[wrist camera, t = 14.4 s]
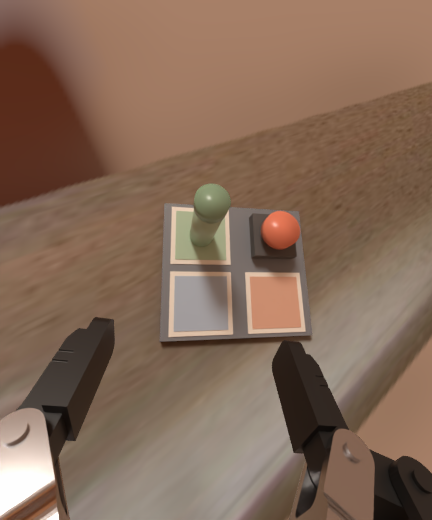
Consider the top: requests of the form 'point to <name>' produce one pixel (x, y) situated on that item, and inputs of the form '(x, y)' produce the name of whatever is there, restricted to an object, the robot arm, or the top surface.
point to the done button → (280, 230)
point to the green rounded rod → (208, 213)
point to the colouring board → (230, 280)
